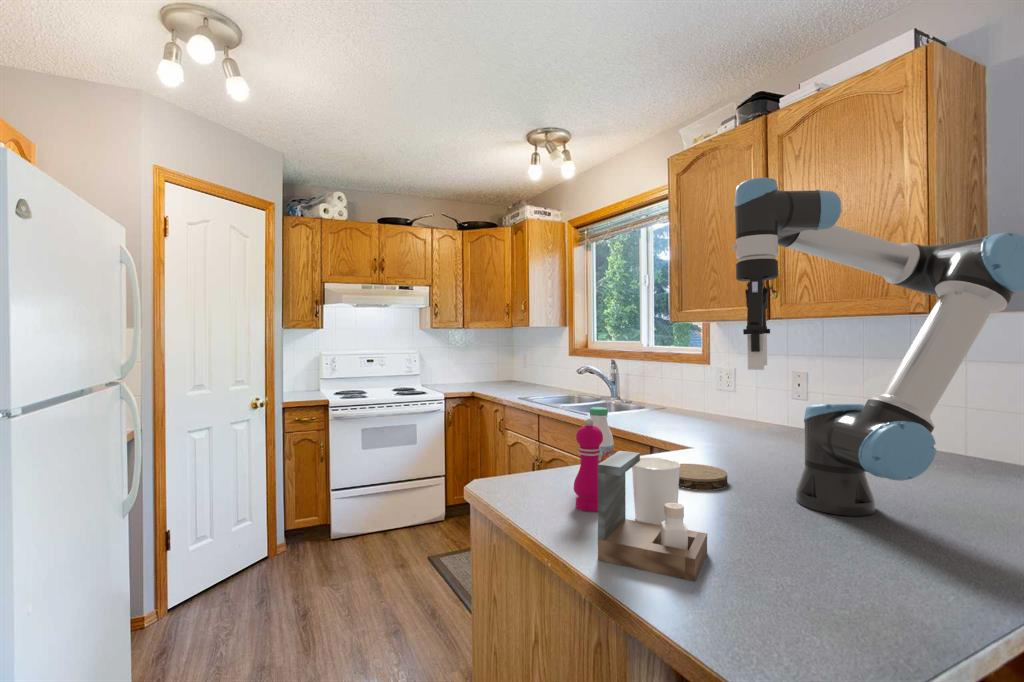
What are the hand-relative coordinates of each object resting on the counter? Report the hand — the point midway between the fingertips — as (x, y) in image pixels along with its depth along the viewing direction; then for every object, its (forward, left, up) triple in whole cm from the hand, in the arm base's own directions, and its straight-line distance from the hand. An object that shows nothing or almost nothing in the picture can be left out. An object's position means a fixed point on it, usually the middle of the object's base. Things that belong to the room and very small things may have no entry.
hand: (758, 367), depth 102 cm
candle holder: (+19, +5, -33) cm, 38 cm away
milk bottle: (+38, -13, -33) cm, 52 cm away
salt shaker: (+12, +22, -33) cm, 41 cm away
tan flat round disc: (+17, -29, -33) cm, 47 cm away
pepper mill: (+34, +4, -33) cm, 47 cm away
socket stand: (+15, +23, -32) cm, 42 cm away
